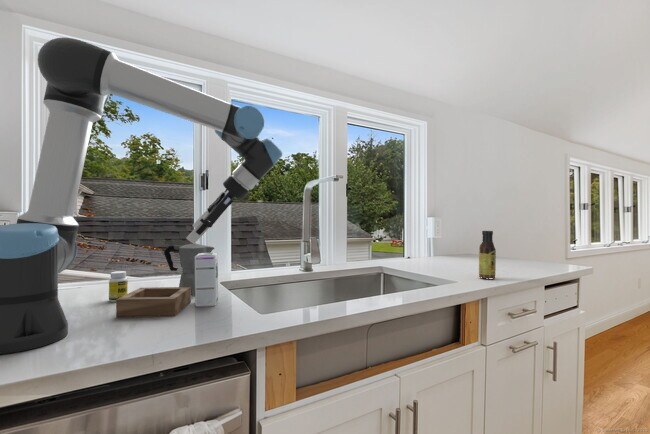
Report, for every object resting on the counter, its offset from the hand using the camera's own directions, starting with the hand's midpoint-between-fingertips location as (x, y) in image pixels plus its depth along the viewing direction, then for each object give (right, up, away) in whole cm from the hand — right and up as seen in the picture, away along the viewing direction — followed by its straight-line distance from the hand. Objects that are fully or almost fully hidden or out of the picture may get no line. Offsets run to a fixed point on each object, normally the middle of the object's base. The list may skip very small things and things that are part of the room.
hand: (193, 234), depth 105 cm
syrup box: (+6, -20, -5) cm, 21 cm away
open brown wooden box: (-6, -20, -11) cm, 23 cm away
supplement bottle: (-22, -20, -2) cm, 29 cm away
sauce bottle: (+107, -21, +39) cm, 116 cm away
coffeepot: (-5, -20, +9) cm, 22 cm away
